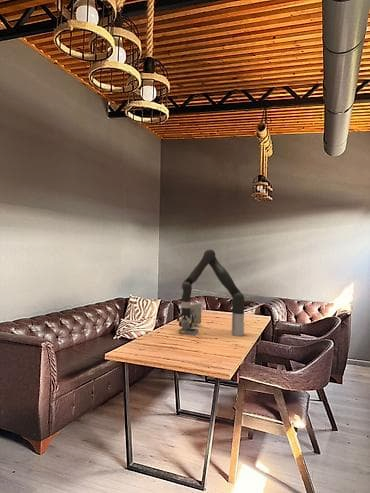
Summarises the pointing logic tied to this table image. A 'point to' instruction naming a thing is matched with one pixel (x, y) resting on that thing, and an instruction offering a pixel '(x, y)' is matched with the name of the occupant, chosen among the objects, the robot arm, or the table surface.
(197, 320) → the network device
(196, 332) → the rack
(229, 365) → the table surface
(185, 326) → the rectangular block
